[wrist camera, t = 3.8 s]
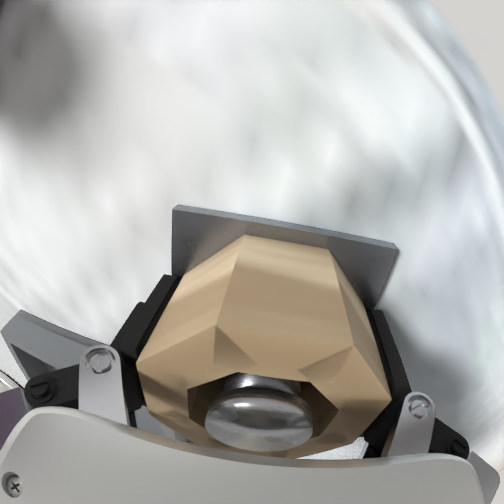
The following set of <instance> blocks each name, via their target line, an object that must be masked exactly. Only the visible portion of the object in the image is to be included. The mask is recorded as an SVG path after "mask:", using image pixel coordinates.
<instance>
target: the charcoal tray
mask: <svg viewBox="0 0 504 504" xmlns="http://www.w3.org/2000/svg"><path fill="white" fill-rule="evenodd" d="M0 332H1V334H2V336H3V338H4V340H5V342H6V344H7V346H8V348H9V349H10V351H11V353H12V355H13V357H14V359H15V360H16V362H17V364H18V366H19V367H20V369H21V371H22V372H23V374H24V376H25V377H26V379H27V380H28V381H29V380H30V379H31V378H33V377H35V376H37V375H40V374H44V373H48V372H52V371H55V370H59V369H62V368H66V367H69V366H73V365H76V364H80V358H81V355H82V354H83V352H84V351H85V350H87V349H88V348H90V347H92V346H95V345H105V344H102V343H100V342H97V341H94V340H91V339H89V338H86V337H83V336H81V335H78V334H75V333H73V332H70V331H68V330H65V329H63V328H60V327H58V326H56V325H53V324H51V323H49V322H46V321H44V320H42V319H40V318H37V317H35V316H33V315H31V314H29V313H27V312H25V311H22V310H20V311H19V312H18V313H17V314H16V315H15V316H14V317H13V318H12V319H11V320H10V321H9V322H8V323H7V324H6V325H5V326H4V328H3V329H2V330H1V331H0ZM107 346H108V345H107ZM136 414H137V420H138V426H139V429H140V430H143V431H146V432H150V433H153V434H157V435H160V436H163V437H167V438H171V439H174V440H178V441H182V442H186V443H188V439H186V438H185V437H183V436H181V435H180V434H178V433H177V432H175V431H173V430H172V429H170V428H169V427H167V426H166V425H164V424H162V423H161V422H159V421H158V420H156V419H155V418H154V417H152V416H151V415H149V411H148V408H147V407H146V406H143V405H142V407H141V409H138V410H136Z"/></svg>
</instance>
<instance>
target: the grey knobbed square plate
mask: <svg viewBox="0 0 504 504" xmlns="http://www.w3.org/2000/svg"><path fill="white" fill-rule="evenodd" d="M243 235H250V236H256V237H262V238H267V239H273V240H279V241H284V242H290V243H296V244H301V245H307V246H313V247H318V248H324V249H329V251H330V252H331V254H332V255H333V257H334V258H335V260H336V261H337V263H338V264H339V266H340V268H341V269H342V271H343V272H344V274H345V275H346V277H347V279H348V280H349V282H350V283H351V285H352V287H353V288H354V290H355V292H356V293H357V295H358V296H359V298H360V300H361V301H362V303H363V305H364V307H365V310H366V311H367V310H368V309H374V307H375V305H376V303H377V301H378V298H379V296H380V294H381V291H382V289H383V287H384V284H385V282H386V279H387V277H388V275H389V272H390V270H391V267H392V264H393V262H394V259H395V257H396V254H397V251H398V249H397V247H396V246H395V245H394V243H389V242H385V241H380V240H375V239H370V238H366V237H361V236H356V235H351V234H346V233H341V232H336V231H331V230H326V229H320V228H315V227H310V226H304V225H299V224H293V223H288V222H282V221H277V220H271V219H265V218H259V217H253V216H247V215H241V214H235V213H229V212H223V211H216V210H210V209H203V208H197V207H190V206H183V205H177V206H175V207H174V208H173V210H172V276H176V277H178V278H179V281H181V279H182V278H183V276H184V275H185V274H186V273H188V272H189V271H191V270H192V269H194V268H195V267H197V266H198V265H199V264H201V263H202V262H204V261H205V260H207V259H208V258H210V257H211V256H213V255H214V254H216V253H217V252H219V251H220V250H222V249H223V248H225V247H226V246H228V245H229V244H231V243H232V242H234V241H235V240H237V239H238V238H240V237H241V236H243ZM205 428H206V430H207V431H208V433H209V434H210V435H211V436H213V437H214V438H215V439H217V440H219V441H220V442H222V443H225V444H227V445H229V446H232V447H236V448H239V449H244V450H250V451H259V452H272V451H282V450H287V449H291V448H294V447H297V446H299V445H301V444H303V443H305V442H306V441H307V440H308V439H309V438H310V437H311V435H312V432H313V424H312V410H311V407H310V406H309V405H308V403H307V402H305V401H304V400H303V399H302V384H301V381H297V380H289V379H281V378H273V377H266V376H259V375H253V374H247V373H241V372H235V373H233V374H230V375H227V376H226V379H225V384H224V388H223V392H222V393H220V394H218V395H216V396H215V397H214V398H213V399H212V400H211V402H210V403H209V407H208V411H207V415H206V419H205Z"/></svg>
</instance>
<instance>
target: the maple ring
mask: <svg viewBox="0 0 504 504" xmlns="http://www.w3.org/2000/svg"><path fill="white" fill-rule="evenodd" d="M136 366H137V370H138V374H139V378H140V382H141V386H142V390H143V394H144V397H145V401H146V405H147V408H148V411H149V415H151V416H152V417H154V418H155V419H156V420H158V421H159V422H161V423H162V424H164V425H166V426H167V427H169V428H170V429H172V430H173V431H175V432H177V433H178V434H180V435H181V436H183V437H185V438H186V439H188V440H190V441H192V442H193V443H195V444H197V445H199V446H204V447H209V448H214V449H219V450H225V451H231V452H237V453H243V454H251V455H259V456H268V457H278V458H292V459H295V458H300V457H304V456H308V455H313V454H317V453H321V452H324V451H328V450H332V449H335V448H339V447H342V446H345V445H348V444H352V443H353V442H354V441H355V440H356V439H357V438H358V437H359V436H360V435H361V434H362V433H363V432H364V431H365V430H366V429H367V427H368V426H369V425H370V424H371V423H372V422H373V421H374V420H375V419H376V418H377V416H378V415H379V414H380V413H381V412H382V411H383V410H384V408H385V407H386V406H387V405H388V404H389V402H390V401H391V400H392V398H391V394H390V391H389V387H388V383H387V380H386V376H385V373H384V369H383V365H382V362H381V359H380V355H379V352H378V348H377V345H376V342H375V339H374V335H373V332H372V329H371V326H370V323H369V320H368V317H367V314H366V310H365V307H364V305H363V303H362V301H361V300H360V298H359V296H358V295H357V293H356V292H355V290H354V288H353V287H352V285H351V283H350V282H349V280H348V279H347V277H346V275H345V274H344V272H343V271H342V269H341V268H340V266H339V264H338V263H337V261H336V260H335V258H334V257H333V255H332V254H331V252H330V251H329V249H324V248H318V247H313V246H307V245H301V244H296V243H290V242H284V241H279V240H273V239H267V238H262V237H256V236H250V235H243V236H241V237H240V238H238V239H237V240H235V241H234V242H232V243H231V244H229V245H228V246H226V247H225V248H223V249H222V250H220V251H219V252H217V253H216V254H214V255H213V256H211V257H210V258H208V259H207V260H205V261H204V262H202V263H201V264H199V265H198V266H197V267H195V268H194V269H192V270H191V271H189V272H188V273H186V274H185V275H184V276H183V278H182V279H181V281H180V284H179V285H178V287H177V289H176V291H175V292H174V294H173V296H172V298H171V300H170V301H169V303H168V305H167V307H166V309H165V310H164V312H163V314H162V316H161V318H160V320H159V321H158V323H157V325H156V327H155V329H154V331H153V332H152V334H151V336H150V338H149V340H148V342H147V344H146V345H145V347H144V348H143V350H142V352H141V354H140V356H139V358H138V360H137V362H136ZM235 372H241V373H247V374H253V375H259V376H266V377H273V378H281V379H289V380H297V381H301V384H302V399H303V400H304V401H305V402H307V403H308V405H309V406H310V407H311V410H312V424H313V432H312V435H311V437H310V438H309V439H308V440H307V441H306V442H305V443H303V444H301V445H299V446H297V447H294V448H291V449H287V450H282V451H272V452H259V451H250V450H244V449H239V448H236V447H232V446H229V445H227V444H225V443H222V442H220V441H219V440H217V439H215V438H214V437H213V436H211V435H210V434H209V433H208V431H207V430H206V428H205V419H206V415H207V411H208V407H209V403H210V402H211V400H212V399H213V398H214V397H215V396H216V395H218V394H220V393H222V392H223V388H224V384H225V379H226V376H227V375H230V374H233V373H235Z"/></svg>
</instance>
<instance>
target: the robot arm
mask: <svg viewBox="0 0 504 504" xmlns="http://www.w3.org/2000/svg"><path fill="white" fill-rule="evenodd" d="M179 284H180V281H179V278H178V277H176V276H171V275H166V274H164V275H163V277H162V278H161V280H160V281H159V282H158V284H157V285H156V287H155V288H154V290H153V291H152V293H151V294H150V296H149V298H148V299H147V301H146V302H145V303H143V302H139V303H138V304H137V305H136V307H135V308H134V310H133V311H132V313H131V314H130V316H129V317H128V319H127V320H126V322H125V323H124V325H123V326H122V328H121V329H120V331H119V332H118V334H117V335H116V337H115V339H114V340H113V342H112V343H111V345H110V346H107V345H95V346H92V347H90V348H88V349H87V350H85V351H84V352H83V354H82V355H81V358H80V364H76V365H73V366H69V367H66V368H62V369H59V370H55V371H52V372H48V373H44V374H40V375H37V376H35V377H33V378H31V379H30V380H29V381H28V382H27V384H26V386H25V388H24V389H22V388H21V387H20V386H18V385H17V384H16V383H15V382H14V381H13V380H11V379H10V378H9V377H8V376H6V375H5V374H4V373H2V372H1V371H0V504H490V503H491V502H492V500H493V498H494V496H495V493H496V491H497V489H498V487H499V483H500V477H499V474H498V472H497V471H496V470H495V469H494V468H493V467H491V466H490V465H489V464H488V463H486V462H485V461H484V460H483V459H482V458H480V457H479V456H478V455H477V454H475V453H474V452H473V451H472V452H471V453H469V445H468V443H467V441H466V439H465V438H464V437H462V436H461V435H460V434H458V433H457V432H455V431H454V430H453V429H451V428H450V427H448V426H447V425H446V424H444V423H443V422H441V421H440V420H439V419H437V418H436V417H435V415H436V407H435V404H434V402H433V401H432V399H431V398H430V397H429V396H428V395H426V394H424V393H422V392H412V391H411V388H410V385H409V382H408V379H407V376H406V373H405V370H404V367H403V364H402V361H401V358H400V355H399V352H398V350H397V347H396V345H395V343H394V340H393V337H392V334H391V332H390V329H389V327H388V324H387V321H386V319H385V316H384V314H383V312H382V311H381V310H375V309H368V310H367V311H366V314H367V317H368V320H369V323H370V326H371V329H372V332H373V335H374V339H375V342H376V345H377V348H378V352H379V355H380V359H381V362H382V365H383V369H384V373H385V376H386V380H387V383H388V387H389V391H390V394H391V398H392V400H391V401H390V402H389V404H388V405H387V406H386V407H385V408H384V410H383V411H382V412H381V413H380V414H379V415H378V416H377V418H376V419H375V420H374V421H373V422H372V423H371V424H370V425H369V426H368V427H367V429H366V430H365V431H364V432H363V433H362V434H361V435H360V436H359V437H364V440H365V441H366V442H365V445H364V447H363V449H362V452H361V454H360V456H359V458H358V459H345V460H315V459H292V458H278V457H268V456H259V455H251V454H243V453H237V452H231V451H225V450H219V449H214V448H209V447H204V446H199V445H195V444H190V443H186V442H182V441H178V440H174V439H171V438H167V437H163V436H160V435H157V434H153V433H150V432H146V431H143V430H140V429H139V426H138V420H137V414H136V410H138V409H141V407H142V405H143V406H146V407H147V405H146V401H145V397H144V394H143V390H142V386H141V382H140V378H139V374H138V370H137V366H136V362H137V360H138V358H139V356H140V354H141V352H142V350H143V348H144V347H145V345H146V344H147V342H148V340H149V338H150V336H151V334H152V332H153V331H154V329H155V327H156V325H157V323H158V321H159V320H160V318H161V316H162V314H163V312H164V310H165V309H166V307H167V305H168V303H169V301H170V300H171V298H172V296H173V294H174V292H175V291H176V289H177V287H178V285H179Z"/></svg>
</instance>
